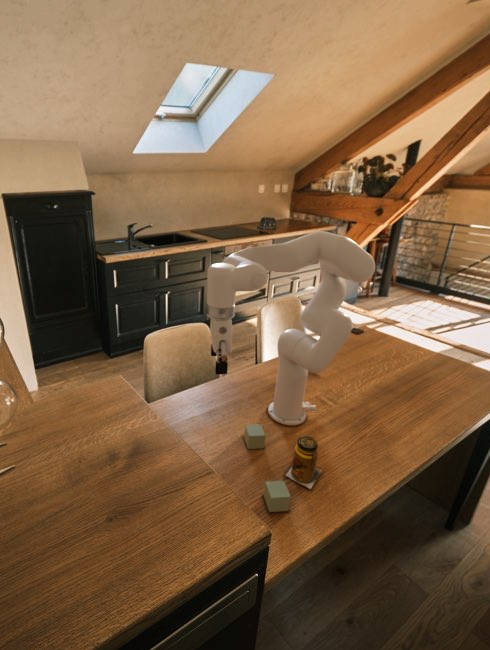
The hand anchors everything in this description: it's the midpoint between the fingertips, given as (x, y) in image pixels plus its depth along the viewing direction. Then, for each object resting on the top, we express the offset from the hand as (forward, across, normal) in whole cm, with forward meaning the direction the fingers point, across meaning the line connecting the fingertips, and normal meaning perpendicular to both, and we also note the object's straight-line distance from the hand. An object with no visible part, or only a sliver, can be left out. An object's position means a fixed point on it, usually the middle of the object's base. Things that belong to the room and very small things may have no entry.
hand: (218, 364), depth 109 cm
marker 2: (+28, -24, -12) cm, 39 cm away
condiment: (+28, -14, -23) cm, 39 cm away
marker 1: (+28, -2, -12) cm, 30 cm away
